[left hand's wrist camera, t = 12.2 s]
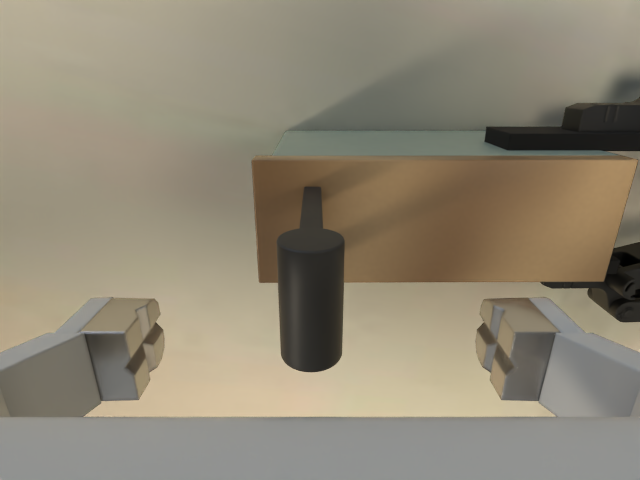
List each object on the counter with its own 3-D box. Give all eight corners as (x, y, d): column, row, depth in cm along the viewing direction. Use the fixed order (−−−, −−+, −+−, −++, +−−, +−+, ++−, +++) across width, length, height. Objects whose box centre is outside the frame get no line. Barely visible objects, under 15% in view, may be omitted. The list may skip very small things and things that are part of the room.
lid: (261, 272, 19) (226, 399, 11) (255, 155, 17) (206, 216, 10) (590, 271, 19) (766, 396, 12) (621, 155, 17) (858, 214, 10)
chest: (287, 214, 27) (276, 272, 19) (285, 130, 25) (271, 155, 17) (508, 213, 27) (589, 271, 19) (522, 130, 25) (620, 154, 17)
